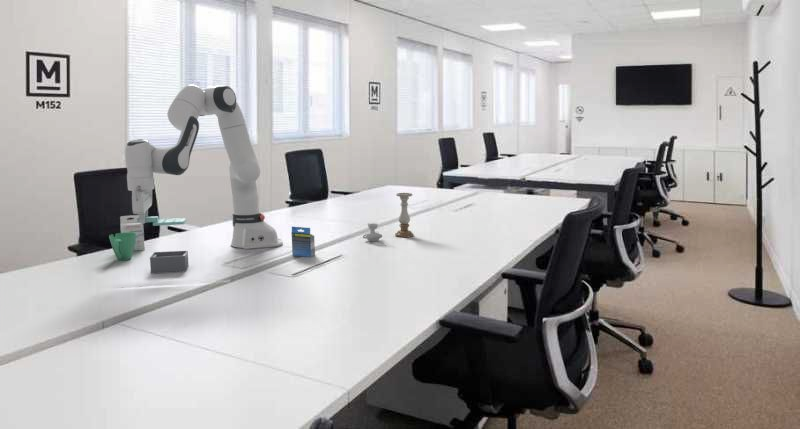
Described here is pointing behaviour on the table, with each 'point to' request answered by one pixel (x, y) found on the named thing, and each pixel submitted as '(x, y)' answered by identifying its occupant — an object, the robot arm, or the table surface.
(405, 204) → the candle holder
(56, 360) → the table surface
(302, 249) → the label tape box
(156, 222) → the lid
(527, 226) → the table surface
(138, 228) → the ink box
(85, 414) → the table surface
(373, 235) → the grey oil lamp
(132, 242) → the mug
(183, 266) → the tub
